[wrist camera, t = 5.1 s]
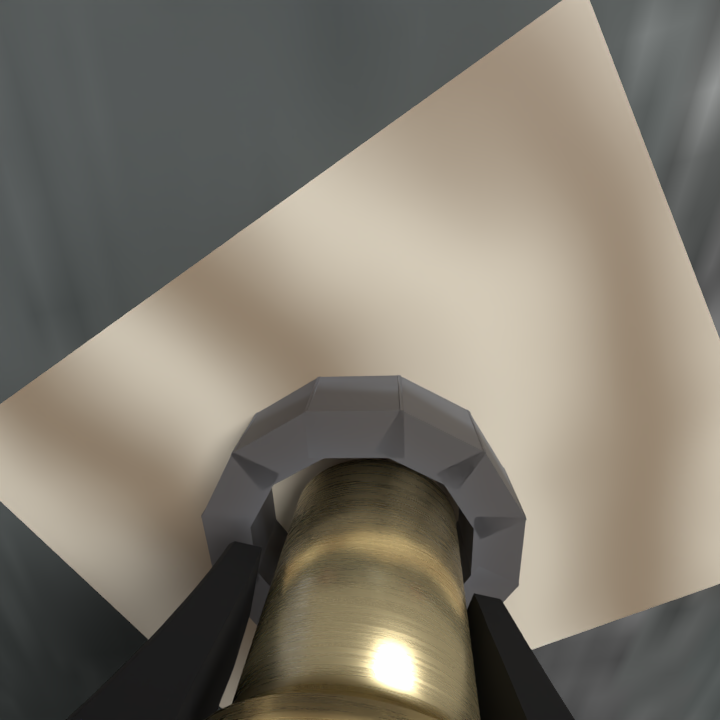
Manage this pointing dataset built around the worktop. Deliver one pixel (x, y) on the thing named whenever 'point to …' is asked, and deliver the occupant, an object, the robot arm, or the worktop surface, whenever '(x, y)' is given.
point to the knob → (363, 607)
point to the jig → (414, 364)
